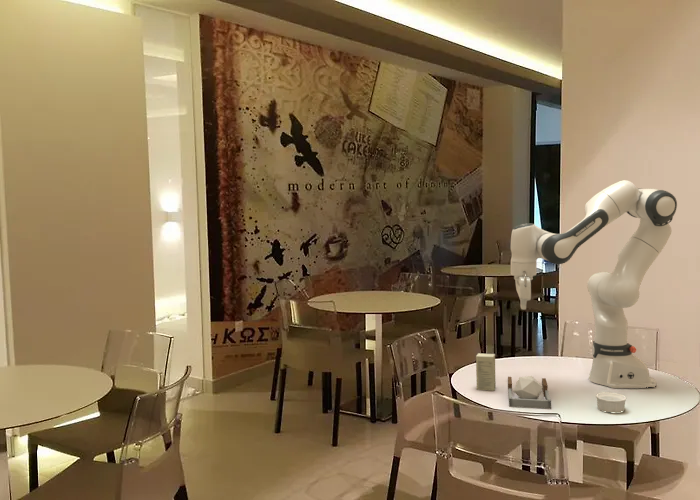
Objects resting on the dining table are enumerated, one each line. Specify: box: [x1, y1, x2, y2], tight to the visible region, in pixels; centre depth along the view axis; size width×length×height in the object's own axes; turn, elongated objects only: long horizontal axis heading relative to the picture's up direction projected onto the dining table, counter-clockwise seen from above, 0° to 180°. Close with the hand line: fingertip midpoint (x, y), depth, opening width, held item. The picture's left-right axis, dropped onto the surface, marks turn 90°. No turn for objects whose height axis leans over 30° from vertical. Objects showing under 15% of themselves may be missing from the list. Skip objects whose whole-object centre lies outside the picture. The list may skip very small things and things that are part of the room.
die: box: [513, 375, 543, 400], centre depth 222 cm, size 8×9×10 cm
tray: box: [507, 387, 552, 410], centre depth 220 cm, size 13×11×2 cm
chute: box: [507, 376, 549, 398], centre depth 230 cm, size 13×8×4 cm, turn 78°
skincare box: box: [475, 352, 497, 392], centre depth 234 cm, size 6×4×12 cm
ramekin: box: [595, 391, 627, 413], centre depth 212 cm, size 9×9×4 cm
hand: (523, 308), depth 235 cm, fingers closed
